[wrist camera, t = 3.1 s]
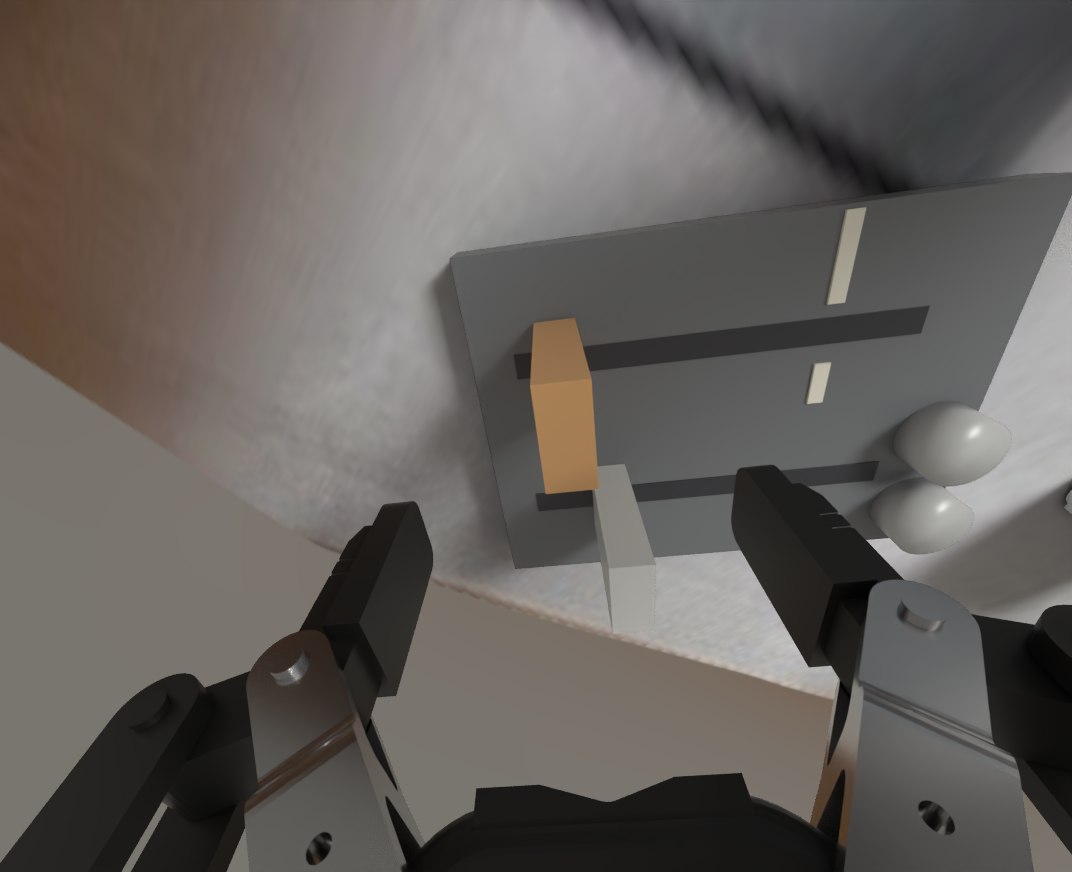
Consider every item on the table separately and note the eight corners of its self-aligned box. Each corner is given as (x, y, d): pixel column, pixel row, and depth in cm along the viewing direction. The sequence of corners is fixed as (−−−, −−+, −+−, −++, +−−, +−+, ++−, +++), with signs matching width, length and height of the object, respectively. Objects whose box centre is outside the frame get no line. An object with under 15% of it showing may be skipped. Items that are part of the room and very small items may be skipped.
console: (457, 252, 19) (401, 292, 11) (1027, 174, 18) (1421, 157, 10) (516, 545, 28) (507, 681, 20) (899, 512, 26) (1051, 646, 18)
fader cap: (533, 322, 19) (530, 385, 12) (574, 317, 18) (591, 378, 12) (544, 405, 20) (545, 494, 14) (581, 400, 20) (598, 489, 14)
